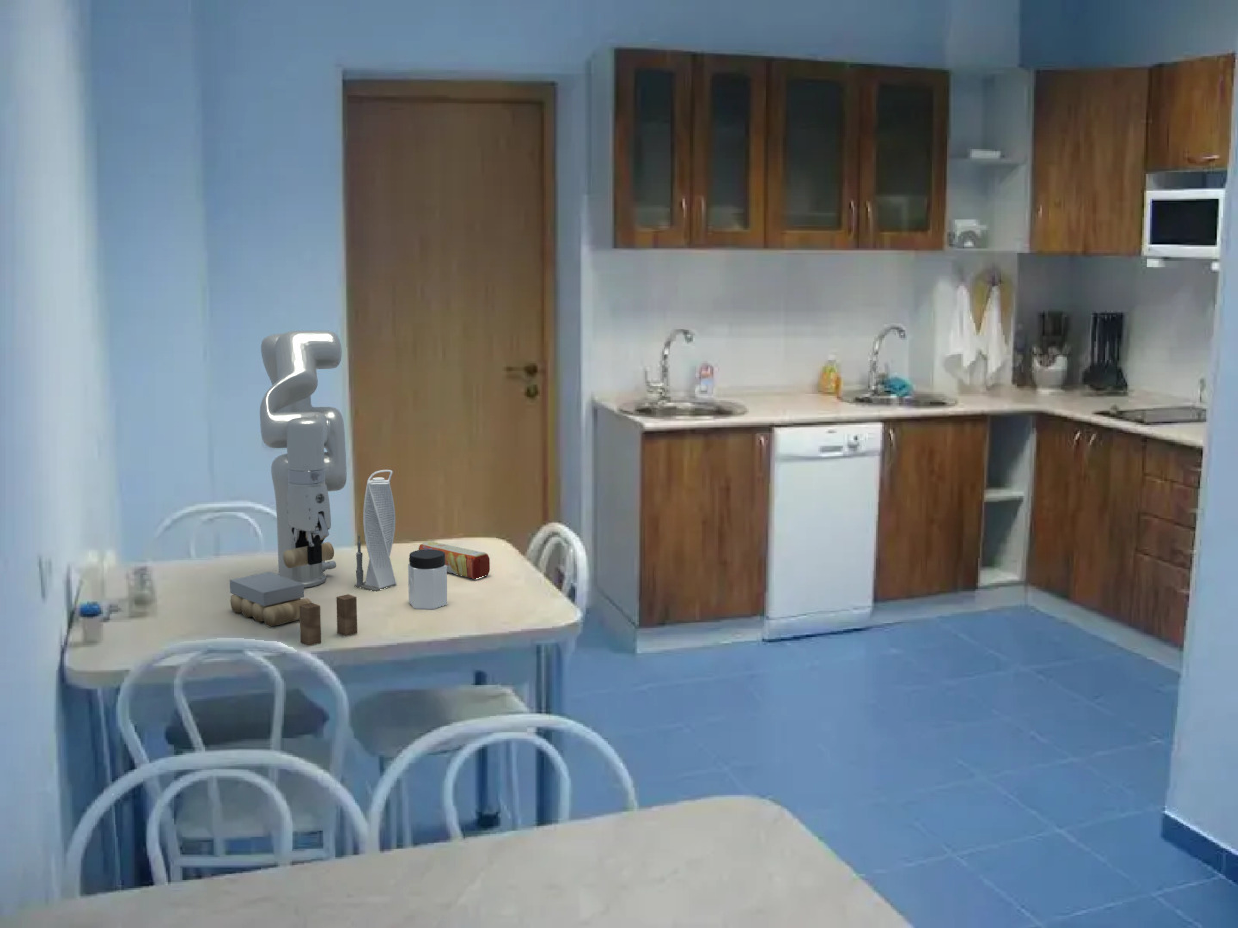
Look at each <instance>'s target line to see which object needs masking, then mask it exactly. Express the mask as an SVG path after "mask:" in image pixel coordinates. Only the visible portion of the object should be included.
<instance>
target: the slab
mask: <svg viewBox="0 0 1238 928" xmlns="http://www.w3.org/2000/svg"><path fill="white" fill-rule="evenodd" d="M277 574H278V573H274V572H272V571H266V572H262V573H256V574H253V575H247V576H242V577H238V578H232V579H229V593H230V594H232V595H237V596H239V597H242V598H244V599H247V600H249V601H252V602H254V603H257V604H259V605H262V606H268V605H272V604H276V603H281V602H285V601H289V600H294V599H298V598H300V599H301V598H302V599H304V597H305V588H304V584H302V583H299V582H297V581H294V580H291V579H288V578H285V577H283V576H280V575H277Z"/></svg>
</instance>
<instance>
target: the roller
mask: <svg viewBox="0 0 1238 928" xmlns="http://www.w3.org/2000/svg"><path fill="white" fill-rule="evenodd" d="M334 556H335V550H334V546H333V544H332V543H331V542H329V541H327V542H323V545H322V561H325V562H328V561H332V560H333V559H334ZM283 559H284V563H285V565H286V566H287V567H288V568H293V567H298V566H302V565H307V564H308V554H307V546H306V547H300V548H295V549H290V550H286V551H285V552H284V555H283Z"/></svg>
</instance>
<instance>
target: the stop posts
mask: <svg viewBox="0 0 1238 928" xmlns="http://www.w3.org/2000/svg"><path fill="white" fill-rule="evenodd" d="M335 599H336V600H335V601H336V632H337V633H336V634H338V635H340V636H344V637H348V636H352V635H356V634H358V610H357V609H358V606H357V605H358V604H357V603H358V602H357V601H358V600H357V596H355V595H352V594H350V593H347V594H343V595H339V596H336V598H335ZM299 607H300V620H299V632H300V643H301V644H303V645H305V646H308V647H310V646H314V645H318V644H321V643H322V629H321V627H322V626H321V623H322V622H321V605H319V604H317V603H314V602H312V603H308V604H304V605H299Z"/></svg>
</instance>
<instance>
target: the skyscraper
mask: <svg viewBox="0 0 1238 928" xmlns="http://www.w3.org/2000/svg"><path fill="white" fill-rule="evenodd" d="M386 472H387V473H389V476H388V479H385V478H384V477H374V476H375V475H376V474H379V473H386ZM393 473H394V472H393V470H391V469H380V470H376V471H374V472H373V473H371V474H370V476H369V477H368V479H367V481H366V482H367V483H366V488H365V495H364V499H363V500H364V502H363V511H362V512H363V514H362V515H363V516H362V517H363V519H362V521H363V532H364V533H363V535H364V540H365V545H366V550H367V553H368V558H369V559H368V564H367V565H368V566H367V570H366V576H365V581H364V569H363V552H362V550H361V549H362V547H361V544H362V543H361V539H360V538H361V537H360V534H358V535H357V540H358V541H357V543H356V544H357V552H355V556H356V570H355V575H356V584H354V587H355V586H356V587H355V588H358V587H361V588H360V589H362V588H364V589H363V590H366V589H368V591H370V590H372V591H371V592H374V591H376V592H379V591H381V590H380V589H383V590H385V589H384V588H386V587H389V588H391V587H390V586H393V587H395V585H396V586H397V582H396V577H395V573H394V569H393V565H392V560H391V557H390V556H391V553H392V550H393V549H392V548H393V544H394V539H395V531H396V508H395V503H394V502H395V501H394V496H393V492H392V487H391V482H390V481H391V478H392V477H393ZM386 589H387V588H386ZM378 590H379V591H378Z"/></svg>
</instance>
